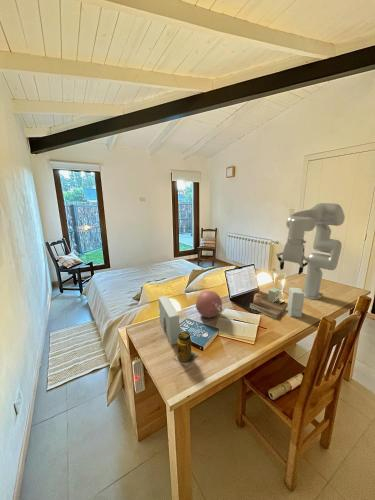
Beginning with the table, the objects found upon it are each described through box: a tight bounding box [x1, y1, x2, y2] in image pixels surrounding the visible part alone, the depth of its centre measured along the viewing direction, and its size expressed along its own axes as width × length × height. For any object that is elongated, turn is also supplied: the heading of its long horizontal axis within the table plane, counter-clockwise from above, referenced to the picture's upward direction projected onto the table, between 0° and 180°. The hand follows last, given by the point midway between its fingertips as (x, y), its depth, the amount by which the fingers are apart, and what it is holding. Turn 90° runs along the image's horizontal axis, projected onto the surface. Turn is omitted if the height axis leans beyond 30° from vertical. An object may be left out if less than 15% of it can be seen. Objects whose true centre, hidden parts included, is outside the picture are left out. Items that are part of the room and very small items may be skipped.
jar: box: [252, 292, 263, 306], centre depth 135 cm, size 5×5×7 cm
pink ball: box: [195, 290, 223, 319], centre depth 123 cm, size 15×20×15 cm
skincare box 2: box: [286, 287, 305, 318], centre depth 127 cm, size 8×7×16 cm
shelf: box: [249, 297, 287, 320], centre depth 134 cm, size 15×17×3 cm
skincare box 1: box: [158, 294, 181, 346], centre depth 110 cm, size 21×6×16 cm, turn 22°
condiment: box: [173, 331, 198, 367], centre depth 93 cm, size 7×8×12 cm
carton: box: [267, 287, 280, 303], centre depth 144 cm, size 6×5×8 cm
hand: (290, 271), depth 118 cm, fingers open, 9 cm apart
